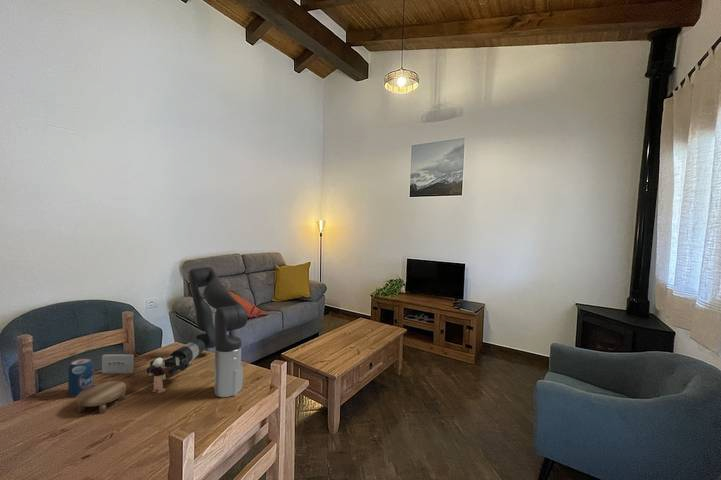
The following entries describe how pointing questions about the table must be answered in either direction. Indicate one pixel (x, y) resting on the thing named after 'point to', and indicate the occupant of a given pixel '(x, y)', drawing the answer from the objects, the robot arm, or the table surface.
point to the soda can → (80, 376)
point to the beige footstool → (101, 395)
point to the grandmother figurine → (158, 375)
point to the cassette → (111, 367)
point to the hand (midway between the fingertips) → (158, 371)
